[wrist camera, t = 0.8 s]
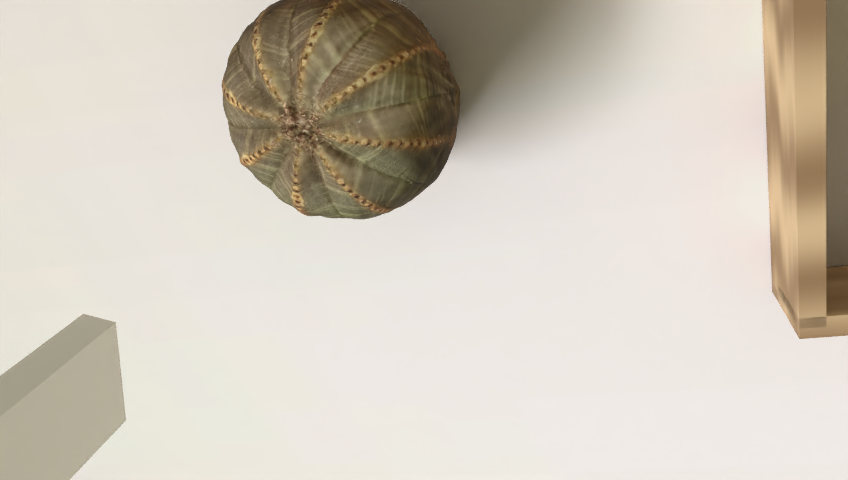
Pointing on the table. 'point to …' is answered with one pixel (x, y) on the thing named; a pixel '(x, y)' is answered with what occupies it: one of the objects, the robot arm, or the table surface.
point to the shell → (341, 105)
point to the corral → (800, 168)
